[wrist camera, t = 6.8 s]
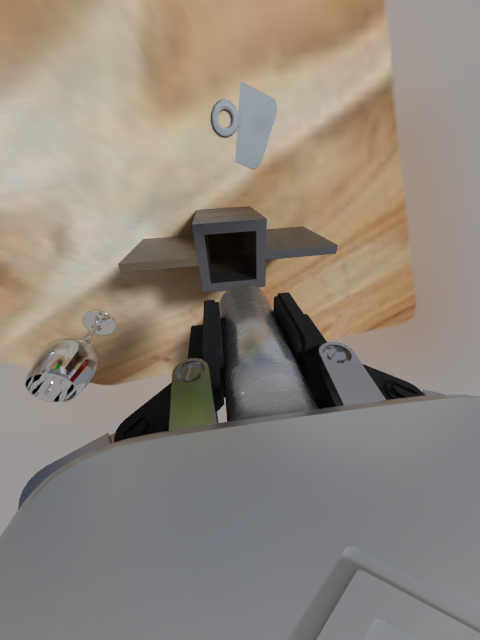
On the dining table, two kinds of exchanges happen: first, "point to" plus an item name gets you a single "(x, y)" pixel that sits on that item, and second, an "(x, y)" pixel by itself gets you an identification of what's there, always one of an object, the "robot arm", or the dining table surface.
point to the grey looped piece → (248, 124)
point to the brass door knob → (258, 359)
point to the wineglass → (68, 362)
